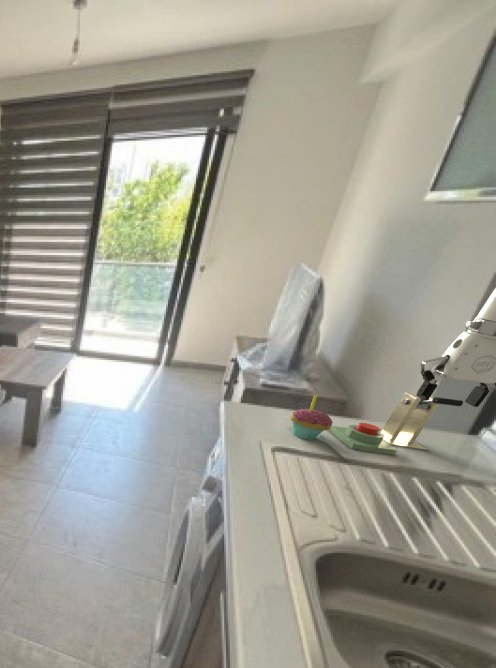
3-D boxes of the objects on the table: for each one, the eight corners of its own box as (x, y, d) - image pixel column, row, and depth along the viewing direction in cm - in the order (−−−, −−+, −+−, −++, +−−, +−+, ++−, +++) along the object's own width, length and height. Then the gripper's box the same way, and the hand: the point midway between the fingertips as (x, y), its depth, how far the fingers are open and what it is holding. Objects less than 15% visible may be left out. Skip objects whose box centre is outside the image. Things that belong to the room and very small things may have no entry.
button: (379, 437, 119) (383, 430, 118) (360, 434, 119) (364, 428, 119) (370, 430, 122) (373, 424, 121) (352, 427, 123) (355, 421, 122)
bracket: (424, 453, 120) (456, 406, 114) (387, 448, 122) (416, 401, 116) (399, 436, 129) (428, 392, 122) (365, 431, 130) (391, 387, 124)
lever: (461, 408, 111) (464, 398, 111) (436, 405, 112) (438, 394, 112) (424, 409, 121) (426, 400, 121) (400, 406, 122) (403, 397, 122)
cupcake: (294, 440, 123) (316, 397, 117) (276, 426, 130) (297, 385, 124) (330, 445, 122) (355, 401, 116) (311, 430, 129) (333, 388, 123)
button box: (391, 458, 117) (401, 443, 115) (349, 451, 119) (357, 437, 117) (366, 438, 126) (374, 425, 124) (327, 432, 128) (334, 419, 126)
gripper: (460, 328, 102) (412, 401, 111) (560, 339, 99) (503, 413, 107) (436, 320, 109) (393, 389, 117) (529, 329, 105) (478, 401, 114)
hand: (446, 401), depth 112 cm, fingers open, 9 cm apart
